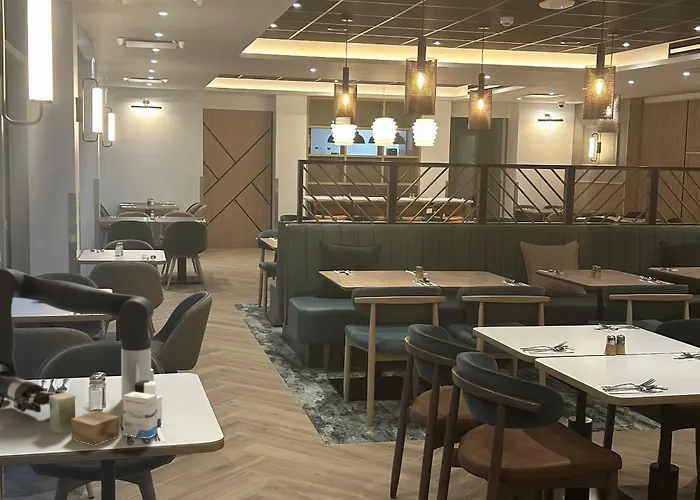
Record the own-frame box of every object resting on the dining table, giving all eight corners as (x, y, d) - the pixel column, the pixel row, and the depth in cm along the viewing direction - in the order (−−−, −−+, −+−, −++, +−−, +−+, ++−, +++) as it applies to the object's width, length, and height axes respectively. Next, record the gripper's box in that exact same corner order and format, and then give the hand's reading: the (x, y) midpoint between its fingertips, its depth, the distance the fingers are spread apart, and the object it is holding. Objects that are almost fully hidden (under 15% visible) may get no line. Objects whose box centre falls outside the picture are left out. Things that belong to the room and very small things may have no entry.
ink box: (158, 434, 226) (158, 394, 224) (148, 440, 221) (148, 399, 220) (132, 430, 228) (132, 390, 227) (122, 435, 224) (122, 395, 222)
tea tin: (66, 425, 231) (65, 392, 229) (75, 430, 227) (75, 395, 226) (49, 430, 227) (49, 395, 225) (59, 434, 223) (58, 399, 222)
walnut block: (97, 430, 228) (96, 410, 227) (119, 437, 223) (118, 416, 222) (71, 439, 220) (71, 418, 219) (93, 446, 215) (93, 425, 215)
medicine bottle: (128, 422, 234) (127, 383, 233) (142, 415, 241) (142, 377, 240) (148, 426, 232) (148, 386, 231) (162, 418, 239) (162, 380, 237)
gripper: (2, 386, 234) (29, 398, 224) (47, 377, 245) (75, 388, 234) (3, 411, 235) (30, 424, 224) (48, 400, 246) (76, 412, 235)
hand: (53, 405), depth 229 cm, fingers open, 8 cm apart
